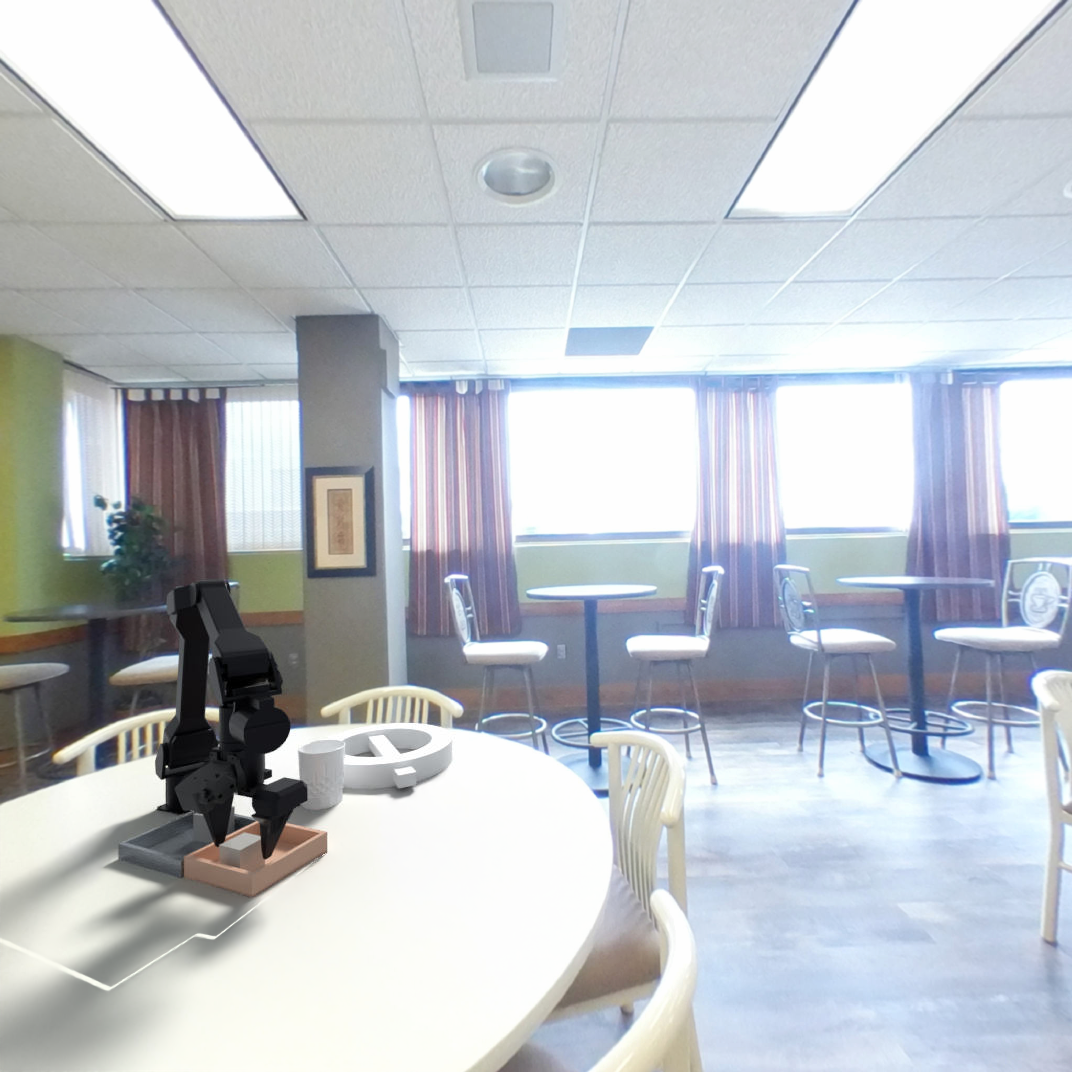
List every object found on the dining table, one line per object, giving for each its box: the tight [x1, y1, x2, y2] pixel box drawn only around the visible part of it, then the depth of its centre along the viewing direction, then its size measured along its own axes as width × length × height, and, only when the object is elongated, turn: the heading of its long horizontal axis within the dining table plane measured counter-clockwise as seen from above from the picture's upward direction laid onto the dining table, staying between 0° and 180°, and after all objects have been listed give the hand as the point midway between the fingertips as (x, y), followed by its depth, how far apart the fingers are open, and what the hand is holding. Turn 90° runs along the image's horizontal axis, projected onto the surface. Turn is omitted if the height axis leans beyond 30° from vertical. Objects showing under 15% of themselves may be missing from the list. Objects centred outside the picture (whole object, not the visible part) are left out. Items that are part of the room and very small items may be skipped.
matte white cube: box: [219, 832, 265, 872], centre depth 82 cm, size 4×4×4 cm
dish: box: [183, 821, 328, 899], centre depth 84 cm, size 13×13×3 cm
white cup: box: [297, 739, 345, 811], centre depth 106 cm, size 8×8×10 cm
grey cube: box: [193, 805, 236, 843], centre depth 93 cm, size 4×4×4 cm
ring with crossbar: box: [323, 722, 453, 790], centre depth 126 cm, size 28×28×5 cm
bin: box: [117, 811, 256, 879], centre depth 90 cm, size 14×14×2 cm
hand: (242, 851), depth 82 cm, fingers open, 9 cm apart
